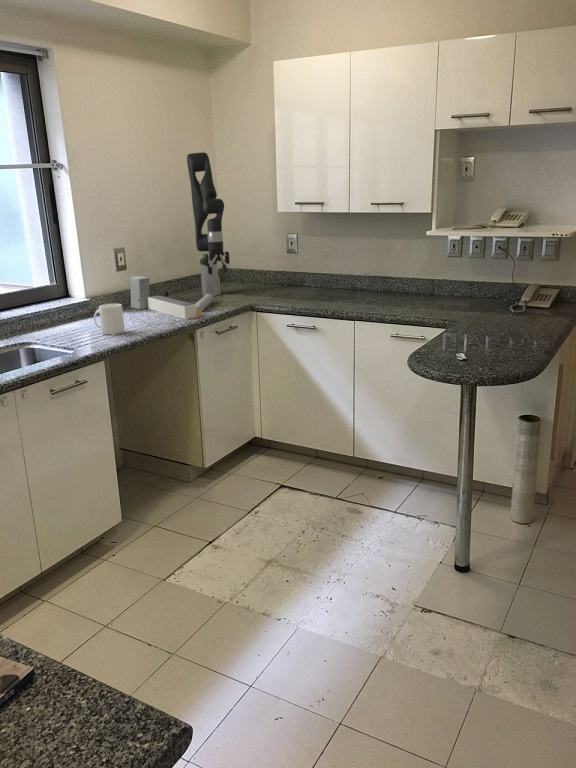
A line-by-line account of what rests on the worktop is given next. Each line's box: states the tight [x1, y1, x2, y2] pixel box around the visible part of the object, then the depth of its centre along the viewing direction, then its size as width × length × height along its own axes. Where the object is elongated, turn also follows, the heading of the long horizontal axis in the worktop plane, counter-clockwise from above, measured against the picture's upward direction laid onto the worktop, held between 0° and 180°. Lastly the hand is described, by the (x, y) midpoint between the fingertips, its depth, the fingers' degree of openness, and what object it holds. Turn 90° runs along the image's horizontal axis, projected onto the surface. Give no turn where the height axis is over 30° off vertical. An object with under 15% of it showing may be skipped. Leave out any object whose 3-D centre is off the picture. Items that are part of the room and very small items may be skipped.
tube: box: [194, 294, 215, 312], centre depth 327 cm, size 5×5×25 cm
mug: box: [93, 303, 125, 335], centre depth 278 cm, size 10×12×12 cm
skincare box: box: [129, 275, 151, 310], centre depth 329 cm, size 8×7×16 cm
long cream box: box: [148, 294, 203, 320], centre depth 316 cm, size 9×36×6 cm, turn 39°
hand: (217, 273), depth 328 cm, fingers open, 7 cm apart
